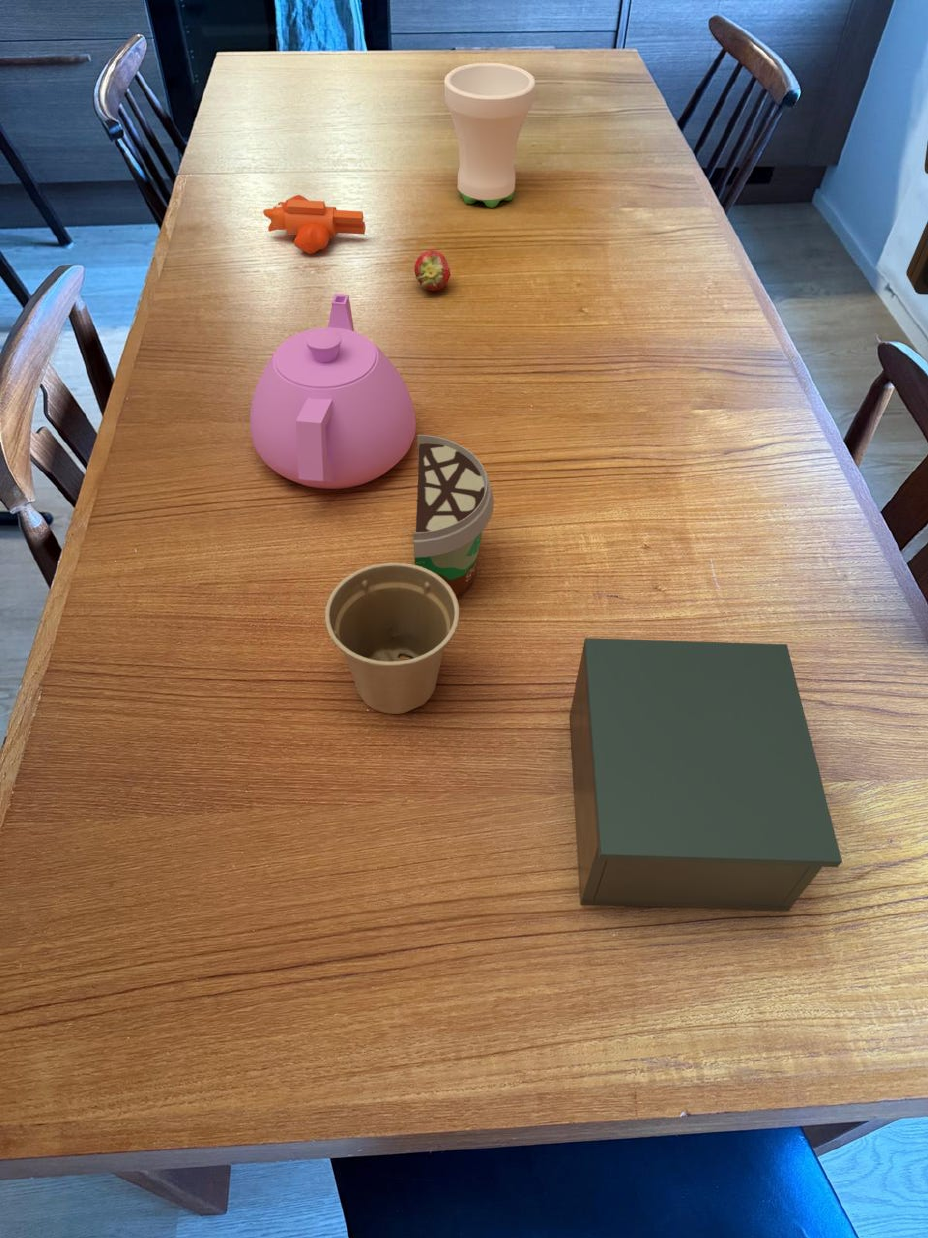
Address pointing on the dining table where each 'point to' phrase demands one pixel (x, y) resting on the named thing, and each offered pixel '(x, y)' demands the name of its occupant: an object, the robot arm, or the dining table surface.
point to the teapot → (331, 407)
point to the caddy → (664, 879)
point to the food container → (450, 511)
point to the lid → (703, 755)
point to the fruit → (432, 270)
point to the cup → (488, 126)
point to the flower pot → (393, 632)
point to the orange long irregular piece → (313, 222)
